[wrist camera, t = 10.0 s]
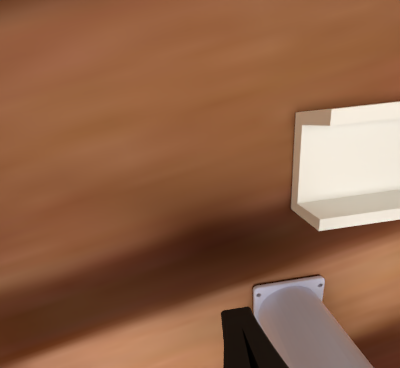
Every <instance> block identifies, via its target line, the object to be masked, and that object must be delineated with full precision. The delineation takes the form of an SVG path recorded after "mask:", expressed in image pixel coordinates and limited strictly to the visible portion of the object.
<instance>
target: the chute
mask: <svg viewBox="0 0 400 368" xmlns="http://www.w3.org/2000/svg"><path fill="white" fill-rule="evenodd" d="M291 209H292V210H293V211H294V212H295V213H297V214H298V215H299V216H301V217H302V218H303V219H304V220H306V221H307V222H308V223H309V224H311V225H312V226H313V227H314V228H316V229H317V230H318V231H322V230H329V229H336V228H343V227H350V226H357V225H364V224H371V223H378V222H385V221H392V220H399V219H400V101H396V102H387V103H378V104H368V105H359V106H350V107H341V108H332V109H323V110H314V111H305V112H296V117H295V136H294V156H293V176H292V196H291Z"/></svg>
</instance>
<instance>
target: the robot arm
mask: <svg viewBox="0 0 400 368" xmlns="http://www.w3.org/2000/svg"><path fill="white" fill-rule="evenodd" d="M324 283H325V279H324V278H323V277H322V276H314V277H308V278H302V279H295V280H289V281H283V282H276V283H270V284H264V285H257V286H255V287H254V288H253V313H252V311H251V309H250V308H249V307H243V308H237V309H231V310H224V311H222V312H221V318H222V328H223V339H224V368H373V366H372V365H371V364H370V363H369V361H368V360H367V359H366V357H365V356H364V355H363V354H362V352H361V351H360V350H359V348H358V347H357V346H356V345H355V343H354V342H353V341H352V340H351V338H350V337H349V336H348V334H347V333H346V332H345V331H344V329H343V328H342V327H341V325H340V324H339V323H338V322H337V320H336V319H335V318H334V316H333V315H332V314H331V313H330V311H329V310H328V309H327V308H326V306H325V305H324V304H323V302H322V299H323V291H324ZM258 293H259V294H258ZM253 314H254V315H253Z"/></svg>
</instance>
